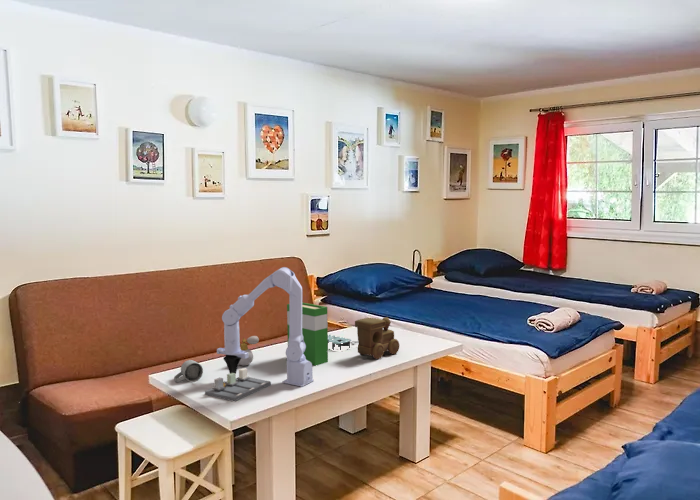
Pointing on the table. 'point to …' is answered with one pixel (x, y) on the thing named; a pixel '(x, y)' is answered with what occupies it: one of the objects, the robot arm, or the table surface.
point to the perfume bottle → (244, 348)
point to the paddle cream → (243, 374)
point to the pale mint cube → (231, 379)
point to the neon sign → (339, 341)
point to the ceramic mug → (189, 371)
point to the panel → (239, 389)
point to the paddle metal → (218, 384)
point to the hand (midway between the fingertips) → (233, 374)
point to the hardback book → (314, 332)
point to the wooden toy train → (375, 337)
